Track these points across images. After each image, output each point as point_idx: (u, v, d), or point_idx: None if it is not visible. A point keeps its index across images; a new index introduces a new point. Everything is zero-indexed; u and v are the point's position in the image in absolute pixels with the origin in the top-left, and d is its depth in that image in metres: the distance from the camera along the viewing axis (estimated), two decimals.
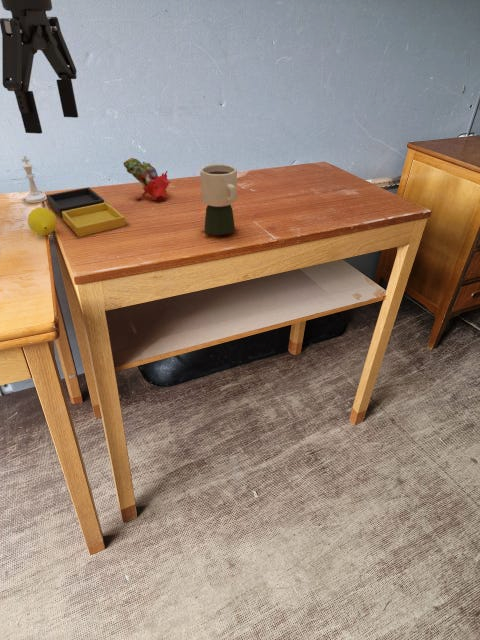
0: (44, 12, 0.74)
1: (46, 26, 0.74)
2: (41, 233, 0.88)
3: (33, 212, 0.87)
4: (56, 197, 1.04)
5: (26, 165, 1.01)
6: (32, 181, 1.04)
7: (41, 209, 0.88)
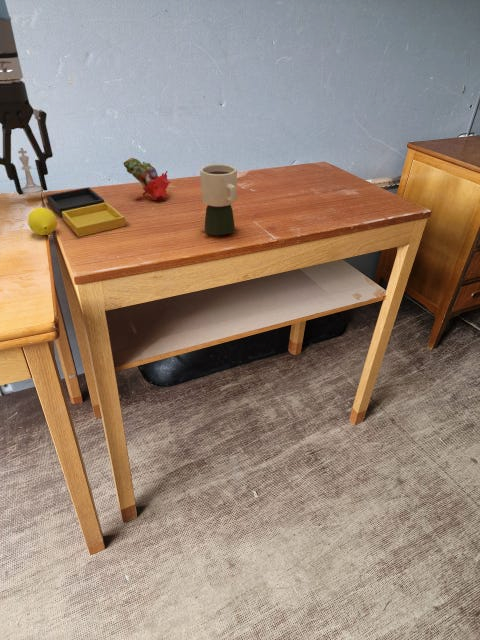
0: (25, 102, 0.95)
1: (19, 113, 0.95)
2: (41, 233, 0.88)
3: (33, 212, 0.87)
4: (56, 197, 1.04)
5: (22, 157, 1.00)
6: (28, 173, 1.03)
7: (41, 209, 0.88)
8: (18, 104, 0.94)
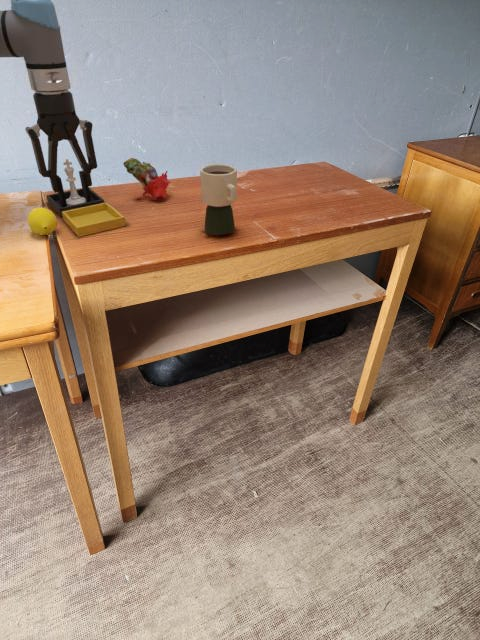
0: (72, 113, 0.93)
1: (66, 124, 0.92)
2: (41, 233, 0.88)
3: (33, 212, 0.87)
4: (56, 197, 1.04)
5: (68, 168, 0.98)
6: (73, 185, 1.00)
7: (41, 209, 0.88)
8: (65, 115, 0.92)
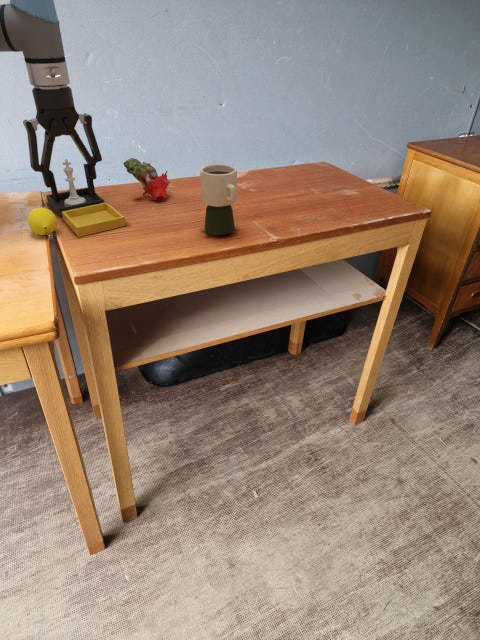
0: (71, 108, 0.92)
1: (66, 119, 0.92)
2: (41, 233, 0.88)
3: (33, 212, 0.87)
4: None
5: (67, 168, 0.98)
6: (72, 185, 1.00)
7: (41, 209, 0.88)
8: (64, 110, 0.91)
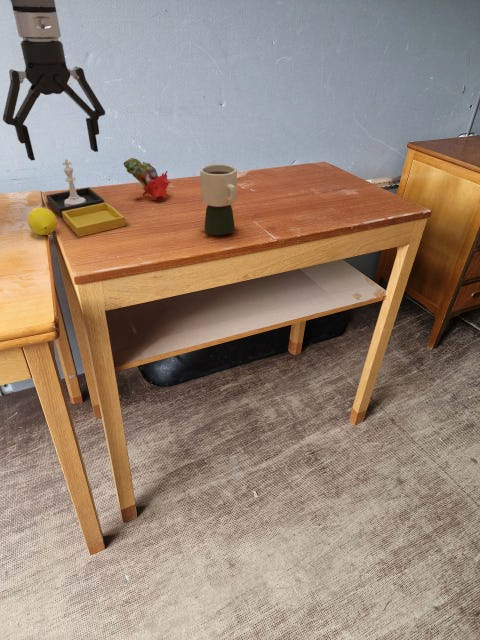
0: (62, 64, 0.87)
1: (56, 76, 0.87)
2: (41, 233, 0.88)
3: (33, 212, 0.87)
4: (56, 197, 1.04)
5: (67, 168, 0.98)
6: (72, 185, 1.00)
7: (41, 209, 0.88)
8: (55, 66, 0.87)
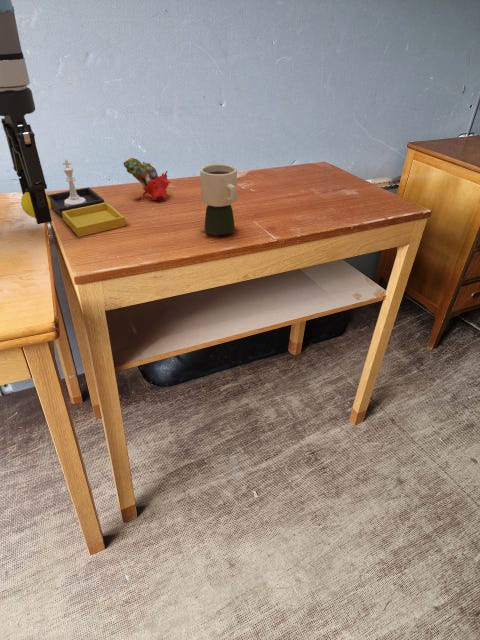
0: (11, 117, 0.75)
1: (6, 127, 0.77)
2: (34, 216, 0.86)
3: (26, 194, 0.85)
4: (56, 197, 1.04)
5: (67, 168, 0.98)
6: (72, 185, 1.00)
7: None
8: (9, 117, 0.76)
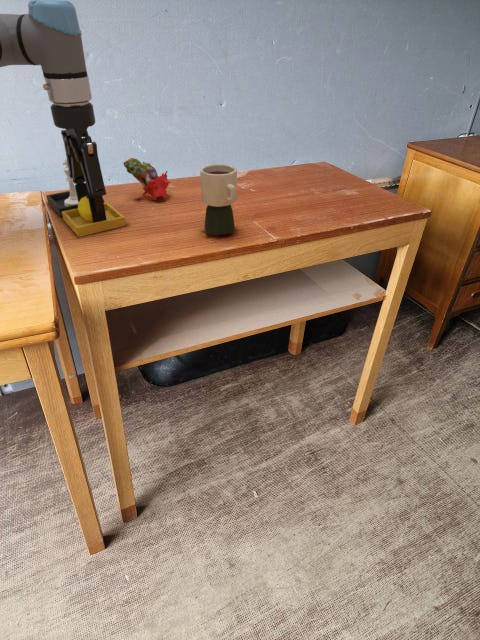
0: (75, 130, 0.82)
1: (69, 139, 0.84)
2: (90, 219, 0.93)
3: (83, 199, 0.91)
4: (56, 197, 1.04)
5: (67, 168, 0.98)
6: (72, 185, 1.00)
7: None
8: (72, 130, 0.83)
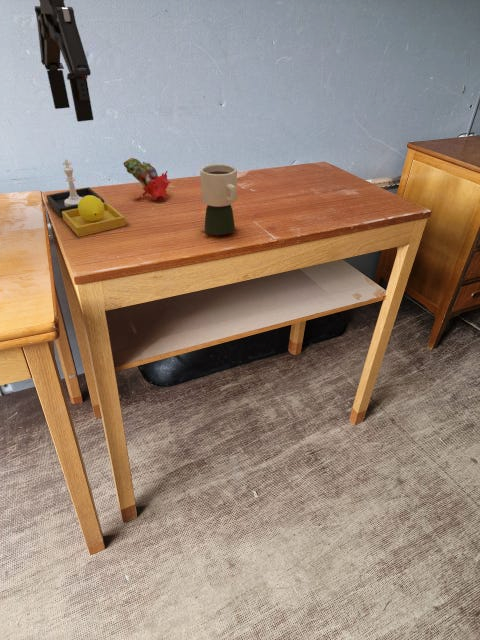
0: (50, 1, 0.70)
1: (44, 15, 0.72)
2: (90, 219, 0.93)
3: (83, 199, 0.91)
4: (56, 197, 1.04)
5: (67, 168, 0.98)
6: (72, 185, 1.00)
7: (91, 197, 0.92)
8: (47, 3, 0.72)
